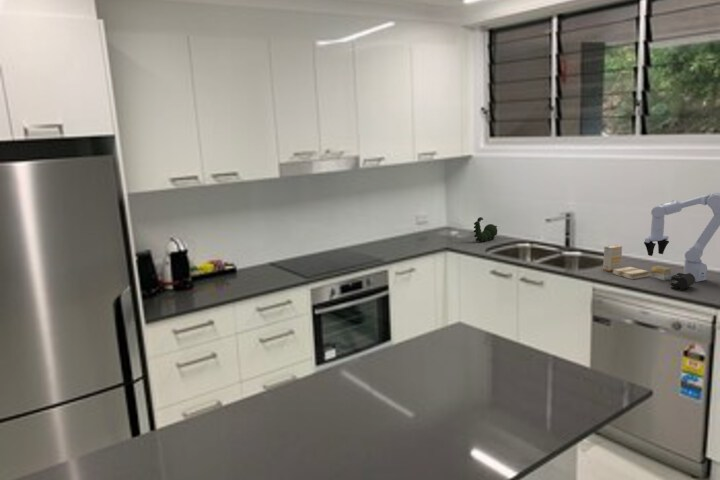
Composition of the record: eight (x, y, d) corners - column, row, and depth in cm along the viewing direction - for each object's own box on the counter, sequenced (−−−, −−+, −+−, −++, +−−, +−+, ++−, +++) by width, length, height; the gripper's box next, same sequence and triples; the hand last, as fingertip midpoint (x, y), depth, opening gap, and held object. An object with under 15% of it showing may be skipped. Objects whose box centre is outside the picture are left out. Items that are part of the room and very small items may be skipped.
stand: (649, 276, 276) (649, 271, 275) (632, 279, 271) (632, 274, 270) (629, 271, 286) (629, 266, 286) (612, 273, 282) (613, 269, 281)
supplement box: (613, 267, 294) (615, 244, 292) (621, 269, 290) (622, 246, 287) (602, 269, 292) (603, 245, 289) (609, 271, 287) (610, 247, 285)
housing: (670, 279, 269) (671, 268, 268) (664, 280, 268) (664, 269, 266) (657, 275, 276) (657, 265, 275) (650, 277, 274) (651, 266, 273)
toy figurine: (482, 246, 366) (502, 237, 382) (481, 219, 361) (501, 212, 377) (470, 244, 373) (491, 236, 389) (469, 218, 368) (490, 210, 384)
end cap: (686, 292, 248) (687, 277, 247) (670, 288, 253) (671, 275, 252) (694, 287, 254) (696, 274, 253) (678, 284, 260) (679, 271, 258)
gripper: (660, 226, 282) (658, 251, 284) (640, 229, 277) (638, 254, 279) (672, 228, 275) (670, 254, 278) (652, 231, 270) (650, 257, 273)
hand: (655, 254), depth 278 cm, fingers open, 7 cm apart
